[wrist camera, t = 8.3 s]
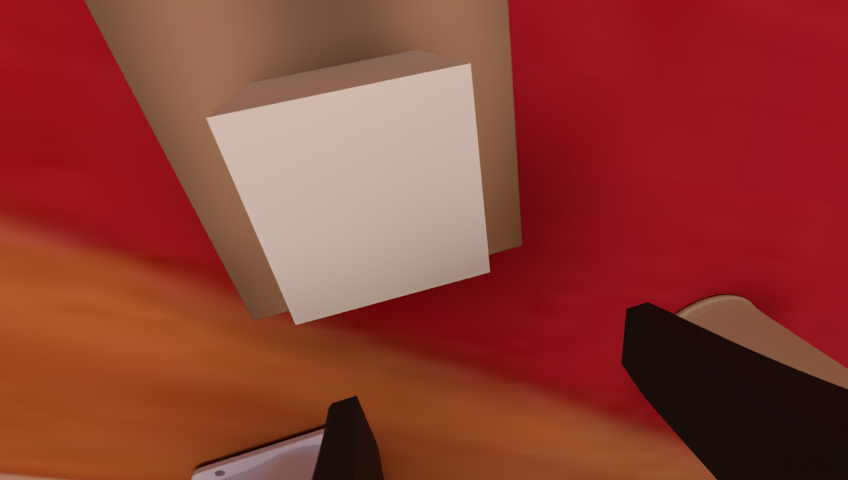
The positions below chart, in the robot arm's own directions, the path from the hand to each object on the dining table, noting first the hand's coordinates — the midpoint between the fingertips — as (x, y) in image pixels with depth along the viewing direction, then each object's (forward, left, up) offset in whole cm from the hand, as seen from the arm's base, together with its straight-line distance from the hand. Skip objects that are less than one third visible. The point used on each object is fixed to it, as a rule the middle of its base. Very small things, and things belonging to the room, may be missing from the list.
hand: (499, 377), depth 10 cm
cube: (-2, +5, -6) cm, 8 cm away
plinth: (-2, +5, -9) cm, 11 cm away
